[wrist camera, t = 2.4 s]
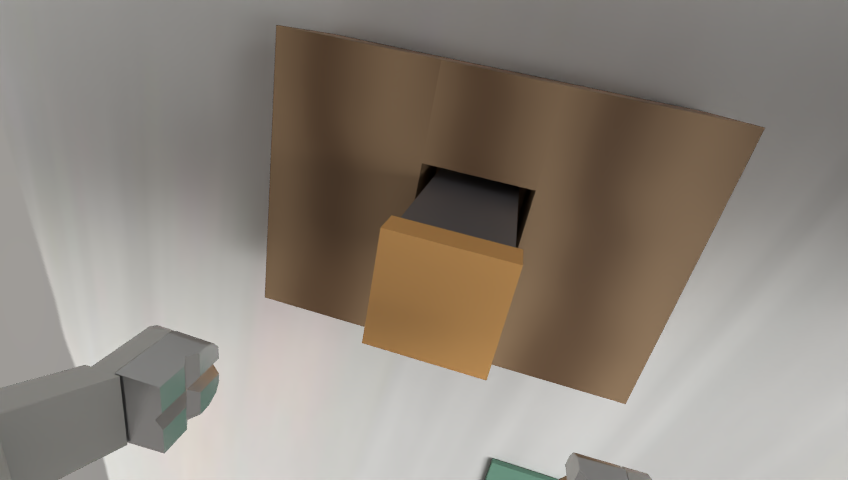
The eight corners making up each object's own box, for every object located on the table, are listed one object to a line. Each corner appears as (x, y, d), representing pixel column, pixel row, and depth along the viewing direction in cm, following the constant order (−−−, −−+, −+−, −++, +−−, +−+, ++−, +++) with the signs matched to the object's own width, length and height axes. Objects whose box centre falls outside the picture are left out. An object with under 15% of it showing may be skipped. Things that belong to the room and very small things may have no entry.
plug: (524, 171, 24) (522, 265, 13) (503, 243, 25) (486, 380, 14) (447, 153, 24) (380, 227, 13) (431, 224, 26) (362, 342, 15)
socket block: (705, 111, 22) (764, 127, 16) (605, 336, 27) (625, 403, 22) (332, 34, 24) (276, 24, 19) (312, 254, 30) (264, 297, 24)
